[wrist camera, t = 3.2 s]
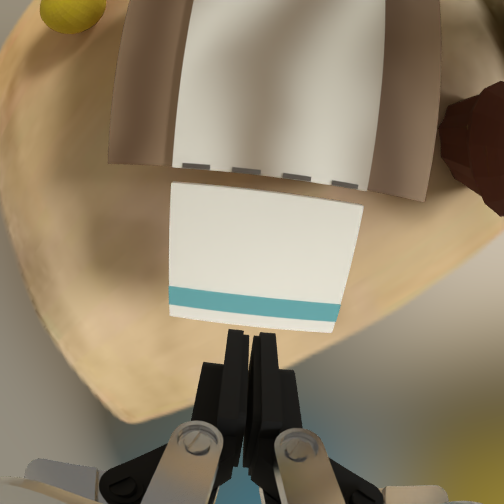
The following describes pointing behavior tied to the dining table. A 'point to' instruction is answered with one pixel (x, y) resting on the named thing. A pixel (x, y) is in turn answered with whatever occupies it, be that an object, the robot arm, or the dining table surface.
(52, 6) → the lemon
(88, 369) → the dining table surface
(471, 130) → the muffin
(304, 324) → the stub
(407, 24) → the brown box with strip
